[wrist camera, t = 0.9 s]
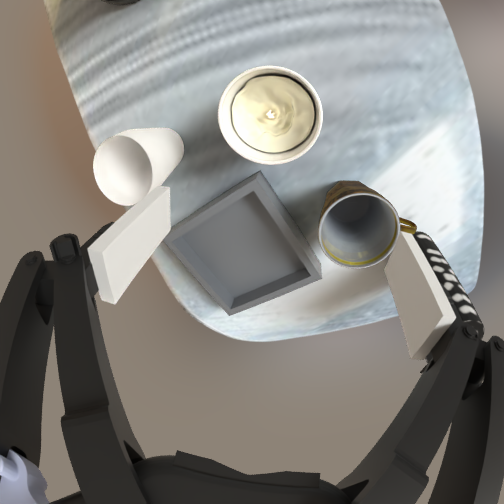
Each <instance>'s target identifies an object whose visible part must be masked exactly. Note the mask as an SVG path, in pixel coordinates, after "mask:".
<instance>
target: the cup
mask: <svg viewBox="0 0 504 504" xmlns="http://www.w3.org/2000/svg"><path fill="white" fill-rule="evenodd" d="M183 154H184V144H183V141H182V139H181V137H180V136H179V134H178V133H177V132H175V131H174V130H172V129H170V128H142V129H130V130H125V131H123V132H120V133H118V134H116V135H114V136H112V137H110V138H108V139H106V140H105V141H104V142H103V143H102V144H101V145H100V146H99V148H98V149H97V151H96V154H95V157H94V163H93V170H94V176H95V180H96V182H97V184H98V186H99V188H100V190H101V191H102V193H103V194H104V195H105V196H106V197H107V198H108V199H110V200H111V201H113V202H115V203H117V204H120V205H125V206H129V205H134V204H136V203H138V202H139V201H140V200H141V199H142V198H144V197H145V196H146V195H147V194H148V193H150V192H151V191H152V190H153V189H154V188H156V187H157V186H161V184H162V183H163V182H164V181H165V180H166V178H167V177H168V176H169V175H170V173H171V172H172V171H173V170H174V169H175V167H176V166H177V165H178V164H179V163H180V161H181V160H182V157H183Z"/></svg>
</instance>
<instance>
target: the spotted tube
mask: <svg viewBox="0 0 504 504" xmlns="http://www.w3.org/2000/svg"><path fill="white" fill-rule="evenodd" d="M412 235H413V237H414V239H415V240H416V242H417V244H418V245H419V247H420V249H421V250H422V252H423V254H424V255H425V257H426V259H427V261H428V263H429V264H430V266H431V268H432V270H433V272H434V273H435V275H436V277H437V279H438V281H439V283H442V285H443V286H444V287H445V288H446V289H447V290H448V292H449V294H450V296H451V299H452V300H453V302H454V305H455V306H456V308H457V310H458V312H459V315H460V317H461V319H462V321H463V322H464V323H468V324H469V325H471V326H472V327H473V328H474V329H475V330H476V331H477V333H478V336H479V339H480V340H482V338H483V335H484V326H483V324H482V322H481V320H480V318H479V316H478V314H477V312H476V310H475V308H474V306H473V304H472V303H471V301H470V299H469V297H468V295H467V294H466V292H465V290H464V288H463V287H462V285H461V283H460V282H459V280H458V278H457V277H456V275H455V273H454V272H453V270H452V269H451V267H450V266H449V264H448V262H447V261H446V259H445V258H444V256H443V255H442V253H441V252H440V250H439V249H438V247H437V246H436V245H435V243H434V242H433V240H432V239H431V238H430V236H429V235H427V234H426V233H423V232H418V231H417V232H415V233H414V234H412ZM391 253H392V252H391ZM432 358H433V357H432V353H431V351H430V353H429V354H428V355H427V356H426V357H425V359H426V362H427V363H429V361H430V360H431V359H432Z"/></svg>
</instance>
